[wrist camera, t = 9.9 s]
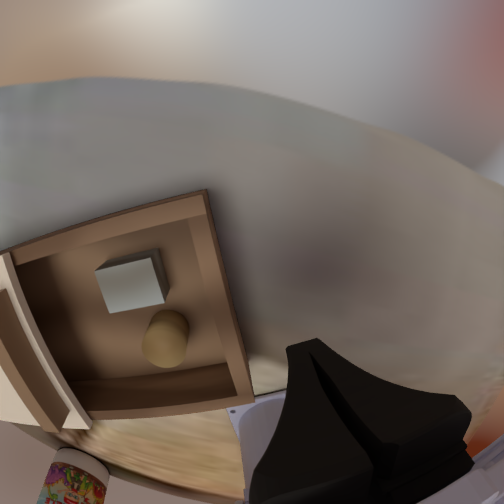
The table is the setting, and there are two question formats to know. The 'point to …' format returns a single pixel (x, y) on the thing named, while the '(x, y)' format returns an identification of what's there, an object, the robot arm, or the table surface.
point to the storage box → (139, 311)
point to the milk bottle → (74, 479)
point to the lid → (30, 366)
